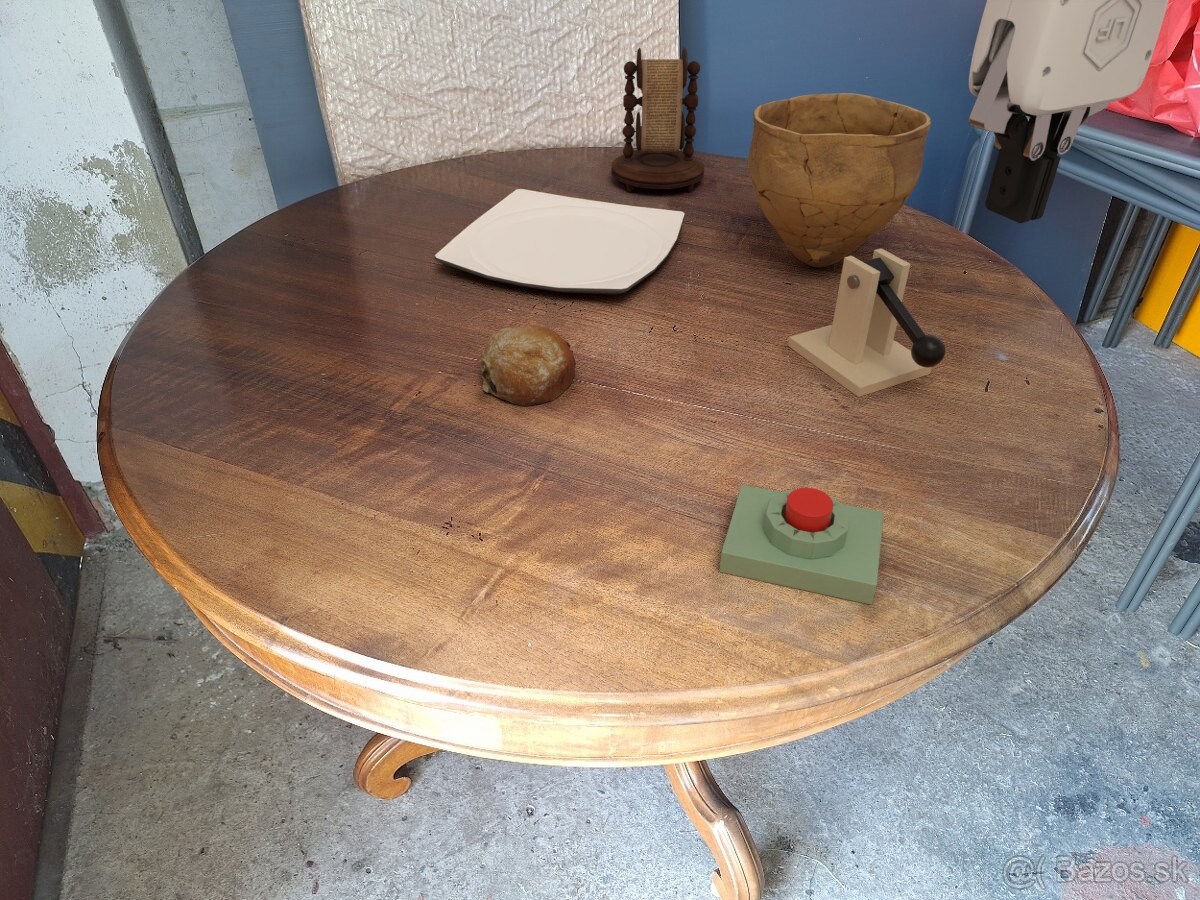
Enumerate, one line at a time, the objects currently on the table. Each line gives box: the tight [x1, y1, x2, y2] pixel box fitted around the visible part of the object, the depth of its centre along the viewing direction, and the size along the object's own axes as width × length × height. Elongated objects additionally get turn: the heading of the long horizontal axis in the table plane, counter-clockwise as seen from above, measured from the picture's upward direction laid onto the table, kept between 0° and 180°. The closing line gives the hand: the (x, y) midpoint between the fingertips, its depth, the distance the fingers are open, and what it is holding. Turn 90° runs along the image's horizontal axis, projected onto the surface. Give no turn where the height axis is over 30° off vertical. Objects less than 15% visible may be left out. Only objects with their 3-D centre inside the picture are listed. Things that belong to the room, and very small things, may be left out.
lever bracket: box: [787, 247, 933, 398], centre depth 95 cm, size 12×10×12 cm
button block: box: [718, 484, 885, 606], centre depth 73 cm, size 12×9×4 cm
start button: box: [785, 487, 833, 533], centre depth 71 cm, size 4×4×2 cm
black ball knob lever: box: [863, 257, 946, 368], centre depth 91 cm, size 13×3×3 cm, turn 28°
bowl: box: [747, 92, 932, 269], centre depth 112 cm, size 21×20×20 cm
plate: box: [434, 188, 686, 295], centre depth 121 cm, size 29×29×3 cm
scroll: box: [610, 46, 705, 193], centre depth 137 cm, size 15×15×20 cm
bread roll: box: [479, 325, 577, 407], centre depth 94 cm, size 10×10×8 cm
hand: (1012, 213), depth 57 cm, fingers closed
